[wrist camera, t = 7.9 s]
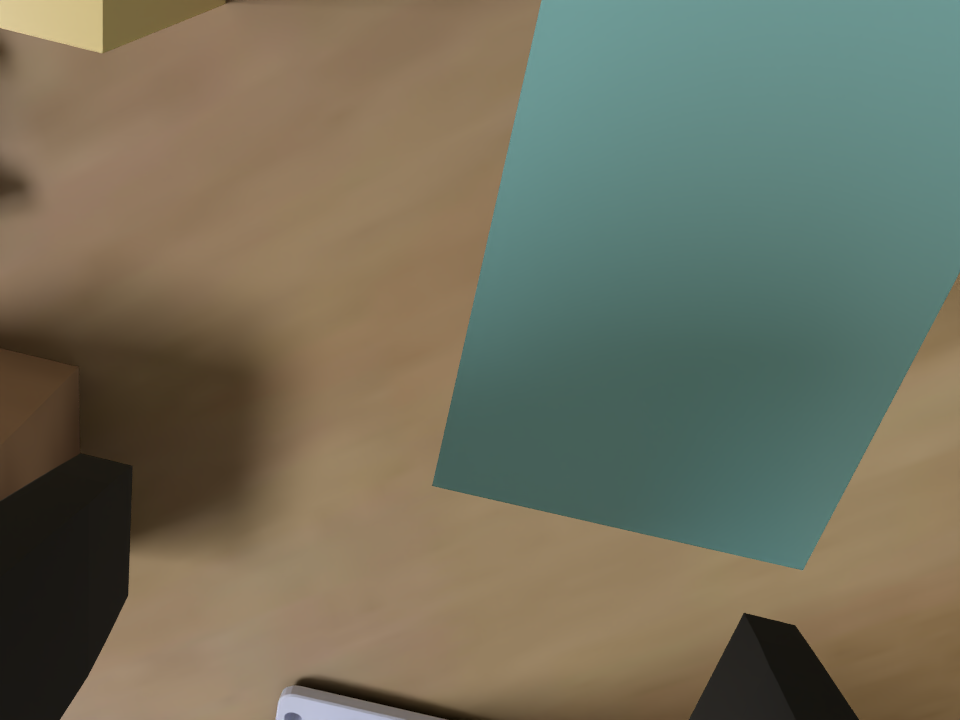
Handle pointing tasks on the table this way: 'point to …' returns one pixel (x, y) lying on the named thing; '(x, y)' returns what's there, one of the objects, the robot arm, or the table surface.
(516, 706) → the table surface
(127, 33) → the pale yellow block
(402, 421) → the table surface
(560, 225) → the teal brick
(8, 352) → the walnut brick
